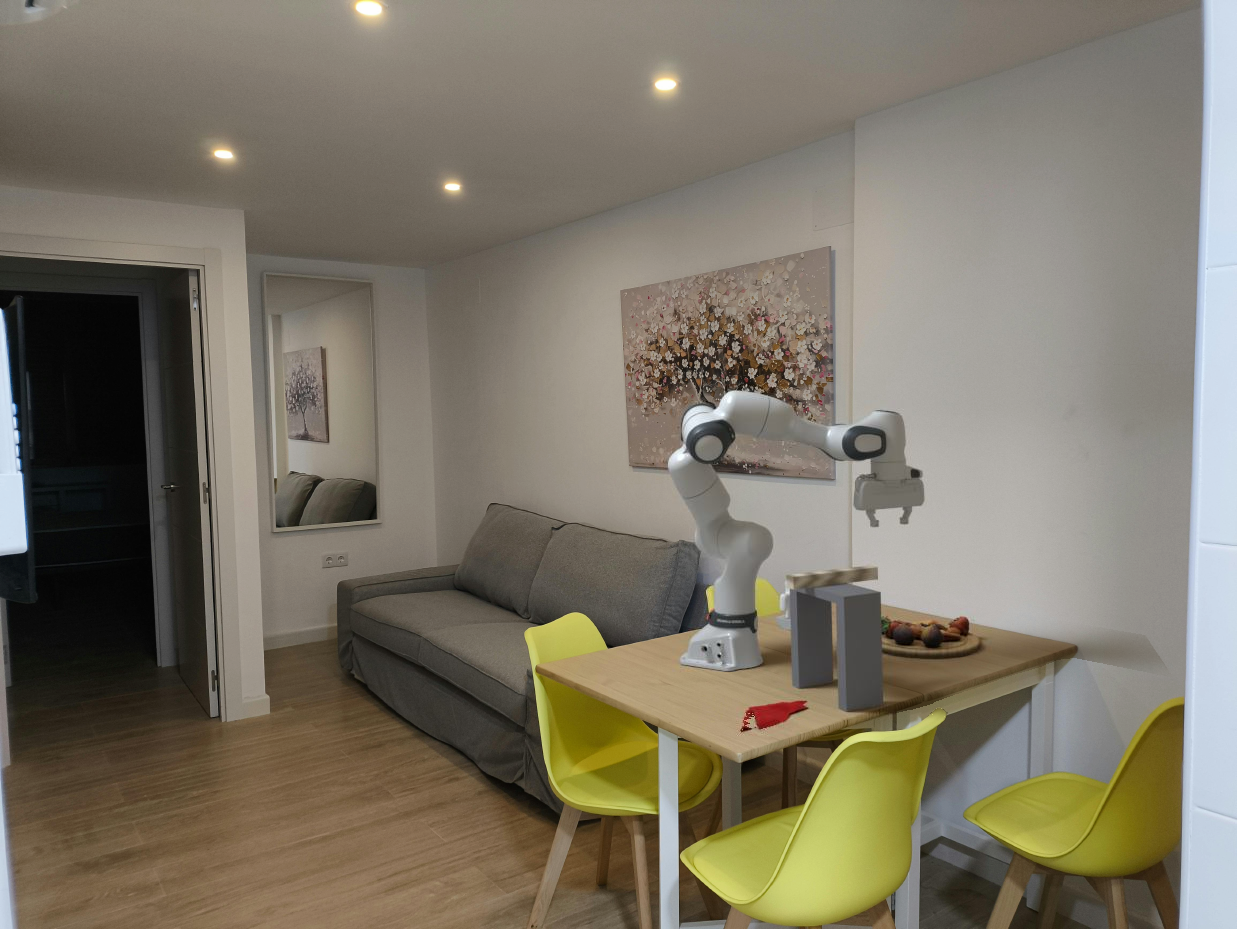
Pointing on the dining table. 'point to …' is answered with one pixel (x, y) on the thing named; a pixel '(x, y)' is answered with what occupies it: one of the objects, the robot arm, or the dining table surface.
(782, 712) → the cloth
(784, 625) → the figurine
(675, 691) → the dining table surface
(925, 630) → the wooden plate with food
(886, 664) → the dining table surface
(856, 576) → the maple bar
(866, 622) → the grey arch
